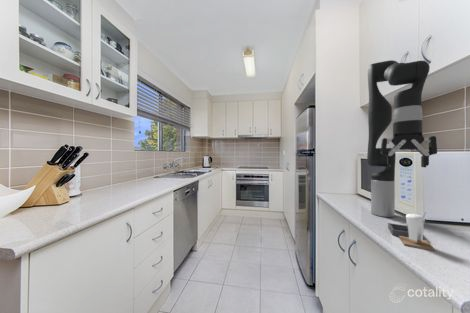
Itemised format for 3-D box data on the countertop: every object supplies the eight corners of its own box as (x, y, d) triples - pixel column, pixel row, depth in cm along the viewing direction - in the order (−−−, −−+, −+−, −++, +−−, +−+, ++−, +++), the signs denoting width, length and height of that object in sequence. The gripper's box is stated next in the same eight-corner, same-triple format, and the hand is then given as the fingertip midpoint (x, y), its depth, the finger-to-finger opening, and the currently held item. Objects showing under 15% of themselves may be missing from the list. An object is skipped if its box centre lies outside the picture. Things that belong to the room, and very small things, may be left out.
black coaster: (388, 227, 74) (388, 223, 74) (415, 232, 70) (415, 227, 70) (392, 235, 67) (392, 229, 67) (423, 240, 63) (423, 234, 63)
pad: (398, 237, 65) (398, 235, 65) (426, 241, 62) (426, 240, 62) (404, 245, 59) (404, 243, 59) (434, 251, 56) (434, 249, 56)
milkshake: (432, 245, 58) (432, 214, 58) (412, 244, 59) (412, 213, 59) (420, 239, 62) (420, 210, 62) (402, 238, 63) (402, 209, 63)
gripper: (431, 120, 64) (430, 166, 64) (379, 124, 71) (379, 165, 71) (441, 116, 57) (440, 168, 57) (383, 121, 64) (383, 167, 65)
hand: (406, 166), depth 64 cm, fingers open, 8 cm apart
